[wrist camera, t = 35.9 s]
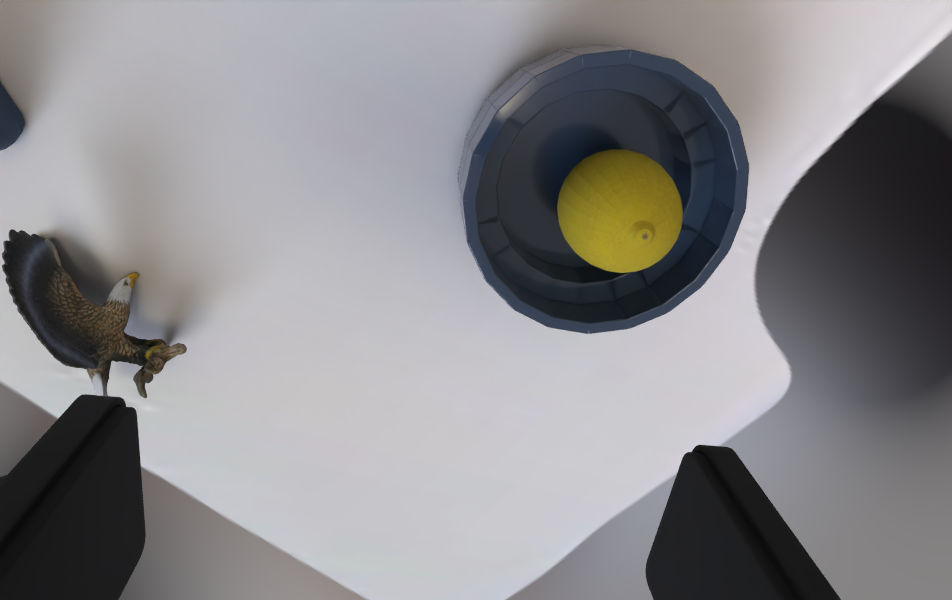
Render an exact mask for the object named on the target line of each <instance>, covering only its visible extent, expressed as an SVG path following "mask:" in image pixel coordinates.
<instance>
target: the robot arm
mask: <svg viewBox="0 0 952 600" xmlns="http://www.w3.org/2000/svg"><path fill="white" fill-rule="evenodd" d="M144 544H145V520H144V506H143V494H142V480H141V465H140V452H139V438H138V424H137V414H136V410H135V409H134V408H133V407H126V404H125V401H124V399H122V398H121V397H110V396H98V395H86V394H85V395H81V396H79V397H78V398H77V399H76V400H75V401H74V402H73V403H72V404H71V405H70V407H69V408H68V409H67V410H66V411H65V412H64V413H63V414H62V415H61V416H60V418H59V419H58V420H57V421H56V422H55V423H54V424H53V425H52V426H51V428H50V429H49V430H48V431H47V432H46V433H45V434H44V435H43V436H42V438H41V439H40V440H39V441H38V442H37V443H36V444H35V445H34V446H33V447H32V448H31V450H30V451H29V452H28V453H27V454H26V455H25V456H24V457H23V458H22V459H21V461H20V462H19V463H18V464H17V465H16V466H15V467H14V468H13V469H12V470H11V472H10V473H9V474H8V475H5V476H2V477H0V600H118V599H119V597H120V596H121V594H122V592H123V590H124V588H125V586H126V584H127V582H128V580H129V578H130V576H131V575H132V572H133V571H134V569H135V567H136V565H137V563H138V561H139V559H140V557H141V554H142V551H143V548H144ZM646 579H647V583H648V586H649V589H650V591H651V594H652V596H653V599H654V600H841V599H840V598H839V596H838V595H837V594H836V592H835V591H834V589H833V588H832V587H831V585H830V584H829V582H828V581H827V580H826V578H825V577H824V575H823V574H822V573H821V571H820V570H819V568H818V567H817V566H816V564H815V563H814V562H813V560H812V559H811V557H810V556H809V554H808V553H807V552H806V550H805V549H804V548H803V546H802V545H801V543H800V542H799V541H798V539H797V538H796V536H795V535H794V534H793V532H792V531H791V529H790V528H789V527H788V525H787V524H786V522H785V521H784V520H783V518H782V517H781V516H780V514H779V513H778V511H777V510H776V508H775V507H774V506H773V504H772V503H771V502H770V500H769V499H768V497H767V496H766V495H765V493H764V492H763V490H762V489H761V488H760V486H759V485H758V483H757V482H756V481H755V479H754V478H753V476H752V475H751V474H750V472H749V471H748V469H747V468H746V467H745V465H744V464H743V463H742V461H741V460H740V459H739V457H738V456H737V454H736V453H735V452H734V451H733V450H732V449H731V448H728V447H720V446H707V445H698V446H696V447H695V448H694V449H693V451H692V452H688V453H686V454H685V455H684V457H683V459H682V461H681V464H680V467H679V470H678V473H677V476H676V479H675V482H674V485H673V487H672V490H671V493H670V496H669V499H668V502H667V505H666V508H665V511H664V513H663V516H662V519H661V522H660V525H659V528H658V531H657V534H656V536H655V539H654V542H653V545H652V548H651V551H650V554H649V557H648V559H647V564H646Z"/></svg>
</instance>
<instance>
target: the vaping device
mask: <svg viewBox="0 0 952 600" xmlns="http://www.w3.org/2000/svg"><path fill="white" fill-rule="evenodd" d="M23 127H24V122H23V118H22V115H21V113H20V112H19V110H18V109H17V107H16V106H15V104H14V103H13V101H12V100H11V98H10V97H9V95H8V94H7V92H6V91H5V89H4V88H3V87H2V85H1V84H0V150H3V149H6V148H7V147H9V146H10V145H12V144H13V143H14V142H15V141H16V140H17V139H18V137H19V135H20V134H21V132H22V131H23Z"/></svg>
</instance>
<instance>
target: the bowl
mask: <svg viewBox="0 0 952 600" xmlns="http://www.w3.org/2000/svg"><path fill="white" fill-rule="evenodd" d="M466 136H467V137H466V138H465V143H464V148H463V153H462V157H461V162H460V167H459V172H458V185H459V194H460V203H461V212H462V218H463V223H464V228H465V234H466V239H467V243H468V246H469V248H470V250H471V252H472V254H473V256H474V258H475V260H476V263H477V265H478V267H479V269H480V271H481V273H482V275H483V277H484V279H485V280H486V282H487V283H488V284H489V285H490V286H491V287H492V288H493V289H494V290H495V291H496V292H497V293H498V294H499V295H500V296H501V297H502V298H503V299H504V300H505V301H506V303H507V304H508V305H509V306H510V307H511V308H513V309H514V310H515V311H517V312H519V313H521V314H523V315H525V316H527V317H529V318H531V319H533V320H535V321H537V322H539V323H541V324H543V325H545V326H547V327H550V328H556V329H562V330H568V331H574V332H580V333H586V334H588V333H589V334H591V333H599V332H607V331H615V330H624V329H629V328H632V327H635V326H637V325H640V324H642V323H645V322H647V321H649V320H652V319H654V318H657V317H659V316H661V315H664V314H666V313H668V312H670V311H671V310H672V309H674V308H675V307H676V306H677V305H679V304H680V303H681V302H683V301H684V300H685V299H687V298H688V297H689V296H690V295H692V294H693V293H694V292H696V291H697V290H698V289H700V288H701V287H702V286H703V285H704V284H705V282H706V281H707V280H708V278H709V277H710V276H711V274H712V273H713V272H714V271H715V269H716V268H717V267H718V265H719V264H720V263H721V261H722V260H723V259H724V257H725V256H726V255H727V254H728V252H729V250H730V248H731V246H732V243H733V241H734V238H735V235H736V233H737V230H738V228H739V225H740V223H741V220H742V218H743V215H744V213H745V209H746V199H747V187H748V175H749V163H748V159H747V155H746V151H745V147H744V143H743V139H742V135H741V131H740V126H739V124H738V121H737V120H736V118H735V117H734V116H733V114H732V113H731V111H730V110H729V108H728V107H727V105H726V104H725V102H724V101H723V99H722V98H721V96H720V95H719V93H718V92H717V90H716V89H715V87H713V85H711V84H710V83H708V82H707V81H706V80H704V79H703V78H701V77H700V76H698V75H697V74H695V73H694V72H693V71H691V70H690V69H688V68H687V67H685V66H684V65H682V64H681V63H680V62H678V61H676V60H673V59H669V58H665V57H661V56H657V55H653V54H649V53H645V52H640V51H636V50H632V49H626V48H620V47H613V46H607V45H595V46H586V47H577V48H568V49H560V50H557V51H555V52H553V53H551V54H549V55H546V56H544V57H542V58H540V59H538V60H536V61H534V62H531V63H529V64H527V65H525V66H523V67H521V68H520V69H518V70H517V71H516V72H515V73H514V74H513V75H512V76H511V77H510V78H508V79H507V80H506V81H505V82H504V83H503V84H502V85H501V86H500V87H499V88H498V89H497V90H496V91H495V92H493V93H492V94H491V95H490V96H489V97H488V99H486V101H485V103H484V105H483V106H482V108H481V110H480V112H479V114H478V115H477V117H476V119H475V121H474V122H473V124H472V126H471V128H470V130H469V131H468V133H467V135H466ZM610 149H624V150H631V151H634V152H637V153H641V154H644V155H646V156H647V157H649V158H651V159H652V160H654V161H655V162H657V163H658V164H660V165H661V166H662V168H663V169H664V170H665V171H666V172H667V173H668V174H669V176H670V177H671V178H672V179H673V181H674V183H675V185H676V188H677V190H678V192H679V194H680V197H681V203H682V210H683V217H682V226H681V230H680V233H679V236H678V238H677V241H676V242H675V244H674V245H673V247H672V248H671V250H670V251H669V252H668V253H667V254H666V255H665V256H664V257H663V258H662V259H661V260H660V261H658V262H656V263H655V264H653V265H652V266H650V267H648V268H645V269H642V270H639V271H635V272H627V273H618V272H610V271H606V270H603V269H601V268H599V267H596V266H594V265H591V264H590V263H588V262H587V261H585V260H584V259H583V258H581V257H580V256H579V255H578V254H576V253H575V252H574V250H573V249H572V248H571V246H570V245H569V244H568V242H567V241H566V240H565V238H564V235H563V233H562V230H561V228H560V225H559V220H558V211H557V204H558V198H559V192H560V190H561V187H562V185H563V183H564V180H565V178H566V177H567V176H568V174H569V173H570V172H571V170H572V169H573V168H574V167H575V166H576V165H577V164H578V163H580V162H581V161H582V160H583V159H585V158H587V157H589V156H591V155H593V154H595V153H597V152H602V151H606V150H610Z"/></svg>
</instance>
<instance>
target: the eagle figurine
mask: <svg viewBox="0 0 952 600" xmlns="http://www.w3.org/2000/svg"><path fill="white" fill-rule="evenodd" d="M9 239H10V241H4V244H3V245H4V252H3V253H2V257H3V260H4V261H5V264H4V265H2V268H3V271H4V273H5V274H6V276H7V277H6V283H7V284H8V286H9V292H10V294H11V295H12V297H13V302H14V303H15V304H16V305H17V307H18V308H17V309H18V312H19V313H20V314H21V315H22V316H23V318H24V320H25V321H26V322H27V324H28V325H29V326H30V328H31V330H32V331H33V332H34V333H35V335H36V336H37V338H38V340H40V341H41V343H42V344H43V345H44V346H45V347H46V348H47V350H48V351H49V352H50V353H51V354H52V355H53V356H54V358H56V359H57V360H58V361H60V362H61V363H62V364H64V365H66V366H69V367H75V368H84V369H87V372H88V374H89V376H90V378H91V381H92V383H93V386H94V390H95V393H96V395H98V396H108V395H107V382H108V379H109V370H110V366H111V361H116V362H118V361H121V362H128V363H130V364H131V363H133V364H137V365H139V366H143V365H144V366H143V367H142V368H141V369H140V370H139V371H138V372H137V373H136V374H135V376H134V378H133V380H134V382H135V383H136V386H137V389H138V392H139V394H140V395H141V396H142V397H143V398H147V394H146V390H145V383H150V382H151V381H152V380H153V374H157V373H159V372H161V370H162V369H163V367H164V365H165V363H166V362H167V361H169V360H170V359H172V358H173V357H175V356H177V355H178V354H183V353H185V352H186V350H187V348H186V346H185V345H184V344H180V343H177V344H175V345H173V346H171V347H170V346H168V345H166V342H165V341H164V340H162V339H153V340H146V339H137V338H135V337H133V336H129V335H127V334H126V333H124V329H125V327H126V325H127V321H128V318H129V313H130V296H131V292H132V288H133V284H134V282H135V280H136V279H137V278H138V277H139V275H138V274H137V273H132V274H130V275H128V276H127V277H125V278H123V279H121V280H120V281H119V282H118V283H117V284H116V285H115V286H114V288H113V289H112V291H111V293H110V295H109V297H108V299H107V300H106V301H105V303H104V305H103V306H98V305H96V304H94V303H92V302H90V301H88V300H87V299H86V298H85V297H84V296H83V295H82V294H81V293H80V291H79V290H78V288H77V287H76V285H75V283H74V281H73V279H72V278H71V276H70V275H69V274H68V273H67V272H66V271H65V270H63V267H62V264H61V260H60V257H59V255H58V252H57V248H56V246H55V245H54V242H53V240H52V239H50V238H48V239H46V240H43V239H42V238H41V237H40V236H38V235H36V234H32V236H30V235H29V234H27V233H26V232H25V231H22V230H21V231H19V232H16V231H15V230H10V232H9Z"/></svg>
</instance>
